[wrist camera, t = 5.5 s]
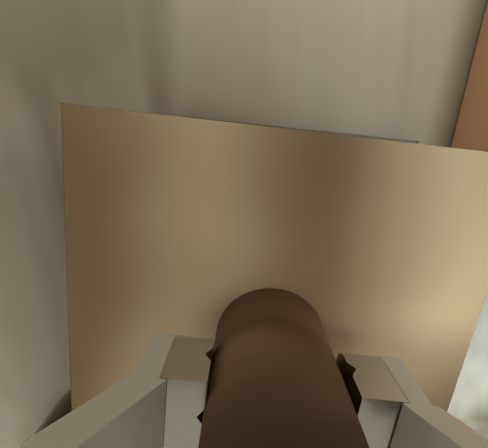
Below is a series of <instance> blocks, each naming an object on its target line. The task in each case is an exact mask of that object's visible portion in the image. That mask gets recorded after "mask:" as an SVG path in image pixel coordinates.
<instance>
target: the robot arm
mask: <svg viewBox="0 0 488 448" xmlns="http://www.w3.org/2000/svg"><path fill="white" fill-rule="evenodd" d="M213 352H214V339H205V338H197V337H189V336H181V335H173V334H163V333H156V334H155V335H154V336H153V339H152V341H151V343H150V345H149V347H148V349H147V352H146V354H145V356H144V358H143V360H142V362H141V365H140V367H139V369H138V371H137V373H136V375H135V376H128V377H126V378H124V379H123V380H121V381H119V382H118V383H116V384H115V385H113V386H111V387H110V388H108V389H107V390H105V391H103V392H102V393H100V394H99V395H97V396H95V397H94V398H92V399H91V400H89V401H87V402H86V403H84V404H83V405H81V406H79V407H78V408H76V409H75V410H73V411H71V412H70V413H68V414H67V415H65V416H63V417H62V418H60V419H59V420H57V421H55V422H54V423H52V424H51V425H49V426H47V427H46V428H44V429H43V430H41V431H39V432H38V433H36V434H35V435H33V436H31V437H30V438H28V439H27V440H25V442H24V443H23V445H22V446H21V447H20V448H198V445H199V439H200V432H201V426H202V420H203V413H204V409H205V405H206V399H207V393H208V386H209V377H210V372H211V367H212V360H213ZM336 362H337V364H338V367H339V370H340V372H341V375H342V377H343V380H344V383H345V385H346V388H347V390H348V393H349V395H350V398H351V401H352V403H353V406H354V408H355V411H356V414H357V416H358V419H359V421H360V424H361V426H362V429H363V432H364V434H365V437H366V440H367V443H368V445H369V448H488V440H487V439H486V438H484V437H483V436H482V435H480V434H479V433H477V432H476V431H474V430H473V429H471V428H470V427H469V426H467V425H466V424H464V423H463V422H461V421H460V420H458V419H457V418H455V417H454V416H452V415H451V414H449V413H448V412H447V411H445V410H444V409H442V408H441V407H439V406H433V405H432V404H431V403H430V401H429V400H428V398H427V397H426V395H425V394H424V392H423V391H422V389H421V388H420V386H419V385H418V384H417V382H416V381H415V379H414V378H413V376H412V375H411V373H410V372H409V370H408V369H407V367H406V366H405V365H404V363H403V362H402V360H401V359H399V358H398V357H387V356H368V355H357V354H346V353H339V354H338V356H337V358H336Z"/></svg>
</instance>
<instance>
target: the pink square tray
mask: <svg viewBox="0 0 488 448" xmlns="http://www.w3.org/2000/svg"><path fill="white" fill-rule="evenodd" d="M451 148H458V149H467V150H476V151H485V152H488V2H487V6H486V9H485V13H484V17H483V21H482V25H481V29H480V33H479V37H478V41H477V45H476V49H475V53H474V57H473V61H472V65H471V69H470V73H469V77H468V81H467V85H466V89H465V93H464V97H463V101H462V105H461V109H460V113H459V117H458V121H457V125H456V129H455V133H454V137H453V141H452V145H451Z"/></svg>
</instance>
